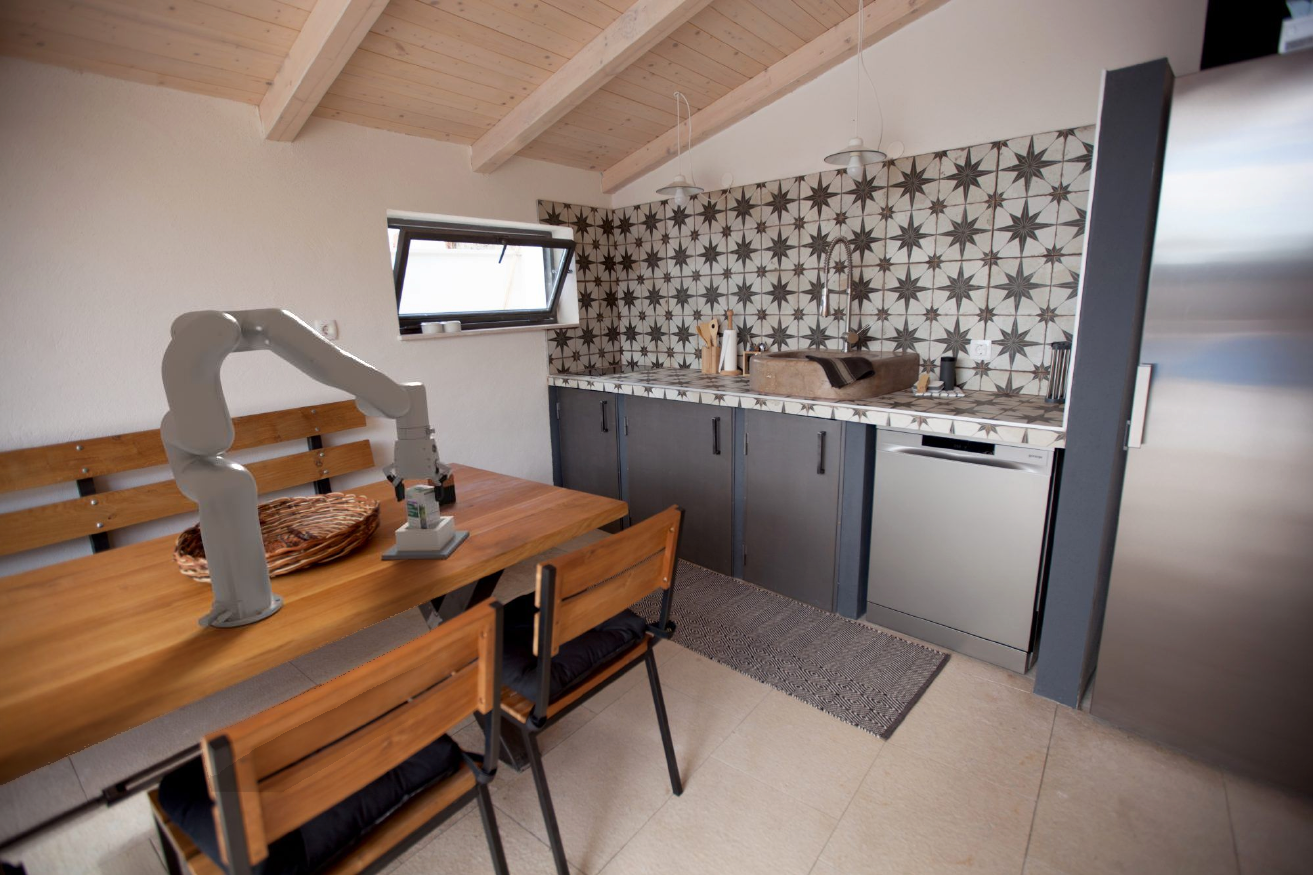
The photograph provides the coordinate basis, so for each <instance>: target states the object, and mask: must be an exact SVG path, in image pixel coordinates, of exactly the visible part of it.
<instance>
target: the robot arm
mask: <svg viewBox="0 0 1313 875" xmlns="http://www.w3.org/2000/svg"><path fill="white" fill-rule="evenodd" d="M170 337H171V340H170V341H169V344H168V345H167V347H166V349H165V352H164V354H163V357H162V360H161V371H160V372H161V378H162V380H161V381H162V384H163V389H164V393H165V396H166V397H165V398H166V401H167V405H168V408H169V410H167V412H166V413H165V414H164V415H163V417H162V419H161V421H160V425H159V426H160V428H159V431H160V438H161V442H162V445H163V448H164V452H165V453H166V457H167V460H168V464H169V466H170V469H171V470H170V471H171V472H172V476H173V478H174V481H175V484H176V485H177V487H178V489H179V491H180V492H181V493H182V494H183V495H184V496H185V497H186V498H188V499H190V500H191V501H193V502H195V503H197V505H198V512H199V514H198V515H199V529H200V536H201V540H202V546H203V549H204V554H205V559H206V563H207V568H208V574H209V580H210V584H211V588H212V589H211V590H212V593H213V599H214V601H213V602H211V608H212V609H210V611H209V612H208V613H206V614H205V615H203V616H201V617H200V618H199V619H198V621H197V622H198V623H197V624H198V625H199V626H200V627H203V628H206V627H208V626H210V625H211V626H214V627H216V628H233V627H234V628H235V627H238V626H239V627H240V626H243V625H244V626H245V625H249V624H251V623H254V622H258V621H260V620H263V619H265V618H267V617H269V616H271V615H273V614H274V613H276V612H278V610H280V609H281V608H282V606H283V605H284V600H283V597H282V596H281V595H280V594H278V593H275V592H273V589H272V584H271V579H270V572H269V567H268V562H267V558H266V557H267V556H266V552H265V551H266V550H265V546H264V540H263V536H262V530H261V525H260V519H259V509H258V486H257V483H256V480H255V477H254V476H253V474H252V473H251V471H249V469H248V468H246V467H245V466H244V465H242V464H240V463H237V462H235V461H233V460H230V459H228V456H227V453H226V451H228V450H229V449H230V448H231V446H232V445H233V444H234V441H235V437H236V432H235V426H234V424H233V420H232V417H231V415H230V412H229V407H228V404H227V400H226V397H225V394H224V391H223V386H222V381H221V368H222V365H223V363H224V361H225V360H226V358H227V357H228V356H229V355H230V354H231V353H233V354H234V353H244V352H254V351H265V350H266V351H270V352H272V353H273V354H275V355H277V357H279V358H280V359H283V361H286V362H287V363H289V364H290V365H292V366H293V367H295V368H296V369H298V370H299V371H301V372H302V374H303V373H304V374H305V375H306V376H308V377H310V378H311V379H312V380H314V381H316V382H319V383H320V384H323V385H324V386H325V385H326V386H328V387H331V388H335V389H338V390H340V391H344V392H346V393H348V394H350V395H353V396H354V397H355V398H354V402H355V403H354V404H355V407H356V408H357V409H358V411H359V412H361V413H362V414H364V415H365V416H369V417H373V418H380V419H381V418H382V419H387V420H395V427H396V436H397V438H396V439H394V448H393V449H394V450H393V462H392V463H390V464H388V465H386V466H384V467H383V468H382V470H381V471H382V473H383V474H384V476H385V477H386V479H387V480H386V481H388V482H390V483H391V485H392V487H394V494H395V498H396V500H397V501H396V502H397V503H400V502H402V501H403V500H405V491H404V490H406V487H405V483H403V481H404V480H427V479H431V480H432V481H433V482H434V483H435V484H436V486H434V493H435V501H436V502H439V501H440V500H441V499H443V497H444V488H443V483H444V482H445V481H446V480H447V479H448V478H449V475H450V473H451V474H452V471H453V467H452V466H451V465H450V464H449V465H448V464H447V463H445V462H442V461H441V460H440V455H439V451H438V446H437V443H436V439H435V437H434V436H432V435H433V434H435V433H436V429H435V428H434V427H433V428H432V427H431V425H430V419H429V407H428V400H427V399H428V398H427V390H426V386H425V385H424V384H423V383H422V382H418V381H417V382H416V381H409V382H399V383H397V382H396V381H394V380H393V379H391V377H389V376H387V375H386V374H385V373H383V372H381V371H380V370H379V369H377V368H375V367H374V366H372V365H371V364H368V363H366V362H364V361H363V360H360V359H359V358H358V357H356V356H354V355H352V354H351V353H349V352H346V351H344V350H343V349H341V348H340V347H338V346H337V345H335V344H334V343H333V342H331V341H330V340H328V339H327V338H326V337H325V336H324V335H322V334H320V333H319V332H317V331H316V330H315V329H314V328H312V327H311V326H309V325H308V324H307V323H305V322H304V321H303V320H302V319H300V318H299V317H298V316H296V315H294V314H293V313H291V312H289V311H288V310H285V309H283V308H278V307H268V308H257V309H256V308H254V309H245V310H221V311H220V310H214V309H210V310H209V309H205V310H197V311H189V312H185V313H182V314H181V315H179V316H177V317H176V318H175V319H174V321H172V324H171V326H170ZM393 469H394V474H393V473H392V470H393ZM442 470H443V471H444V474H443V476H442V477H441V476H440V473H442V472H441V471H442Z"/></svg>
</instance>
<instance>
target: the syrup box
mask: <svg viewBox="0 0 1313 875" xmlns="http://www.w3.org/2000/svg"><path fill="white" fill-rule="evenodd" d="M404 491H405V499H404V500H405V507H406V515H407V522H408V525H409V529H434V528H435V527H436V526H438V525H439V524H440V523H441V521H440V516H441V514H440V506H439V503H438V502H436V501H435V493H434V487H433V486H428V485H424V484H417V485H412V486H411V487H408V488H405V490H404Z"/></svg>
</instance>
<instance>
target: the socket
mask: <svg viewBox="0 0 1313 875" xmlns="http://www.w3.org/2000/svg"><path fill="white" fill-rule="evenodd" d="M454 517H455V516H453V515H451V516H450V515H449V516H445V515H444V516H441V515H440V521H441V523H440V524H439V525H438V526H436V527H435V528H434V529H409V525H408V521H407V522H406V523H404V524H403V525H401V526H400V527H399V528H398V529H397V530H395V531H394V533H395V534H394V536H395V541H396V543H394V545H392V546H391V547H390V548H389V549H387V550H386V551H385V552H384V553H382V555H381V559H382V560H409V559H411V560H412V559H413V560H417V559H420V560H421V559H425V560H427V559H431V560H432V559H447V558H448V557H450V555H452V553H453V552H454V551H455V550H456V549H458V548H457V547H459V546H460V545H461V544H462V542H464V541H465V540H466V538H467V537H468V536H469V535H470V530H469V529H468V530H456V527H455V518H454Z"/></svg>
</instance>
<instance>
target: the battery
mask: <svg viewBox="0 0 1313 875" xmlns="http://www.w3.org/2000/svg"><path fill="white" fill-rule="evenodd" d="M439 474H440V476H441V477H442V476H443V474H444V470H443V471H442V472H440V473H439ZM454 476H455V475H454V473H452V472H451V473H450V475H449V478H448V479H447V480H446V481H445V482H444V483H443V488H444V497H443V499H441V500H440V501H439V502H438V503H439V507H441V506H445V505H448V504H452V503H455V502H457V496H456V495H457V494H456V487H455V486H456V485H455V478H454ZM426 480H427V486H433V487H434V486H436V484H435V483H434V482H433V481H432V480H431V479H426Z"/></svg>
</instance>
